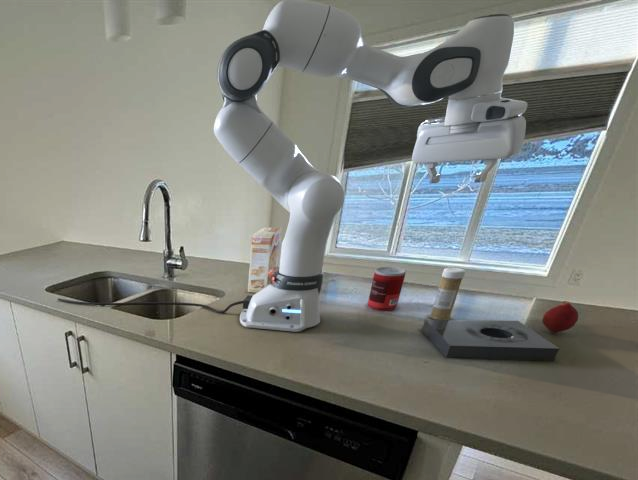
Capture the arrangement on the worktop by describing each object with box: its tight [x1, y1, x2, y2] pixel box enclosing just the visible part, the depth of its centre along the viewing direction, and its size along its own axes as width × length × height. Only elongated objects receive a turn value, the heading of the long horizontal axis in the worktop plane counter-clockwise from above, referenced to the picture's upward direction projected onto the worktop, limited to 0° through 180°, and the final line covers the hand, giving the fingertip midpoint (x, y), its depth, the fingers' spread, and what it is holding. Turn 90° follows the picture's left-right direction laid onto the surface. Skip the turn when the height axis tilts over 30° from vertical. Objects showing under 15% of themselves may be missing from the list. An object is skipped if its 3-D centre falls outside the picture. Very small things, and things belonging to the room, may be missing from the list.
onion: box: [542, 300, 579, 334], centre depth 97 cm, size 6×6×8 cm
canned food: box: [367, 266, 407, 312], centre depth 119 cm, size 8×8×11 cm
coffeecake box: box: [247, 227, 283, 294], centre depth 142 cm, size 15×7×20 cm, turn 149°
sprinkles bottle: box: [429, 267, 466, 320], centre depth 108 cm, size 5×5×13 cm
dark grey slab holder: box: [421, 319, 560, 362], centre depth 96 cm, size 20×16×3 cm
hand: (456, 182), depth 94 cm, fingers open, 8 cm apart
